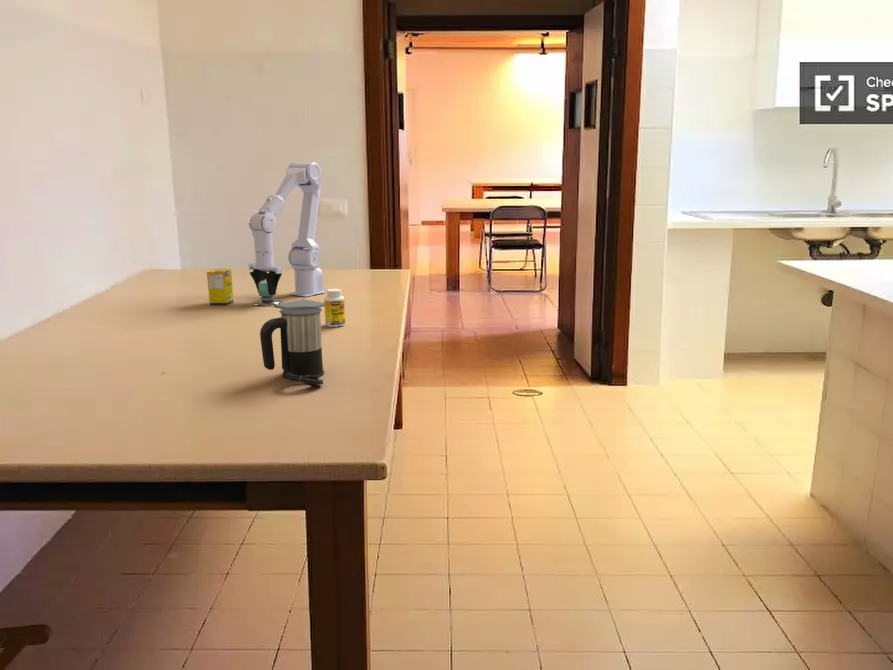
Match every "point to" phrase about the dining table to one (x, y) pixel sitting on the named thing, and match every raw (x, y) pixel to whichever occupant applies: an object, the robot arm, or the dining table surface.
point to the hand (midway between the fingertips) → (266, 293)
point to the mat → (301, 304)
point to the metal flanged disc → (267, 301)
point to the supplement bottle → (334, 308)
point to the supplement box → (220, 286)
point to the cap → (263, 288)
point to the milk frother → (296, 344)
